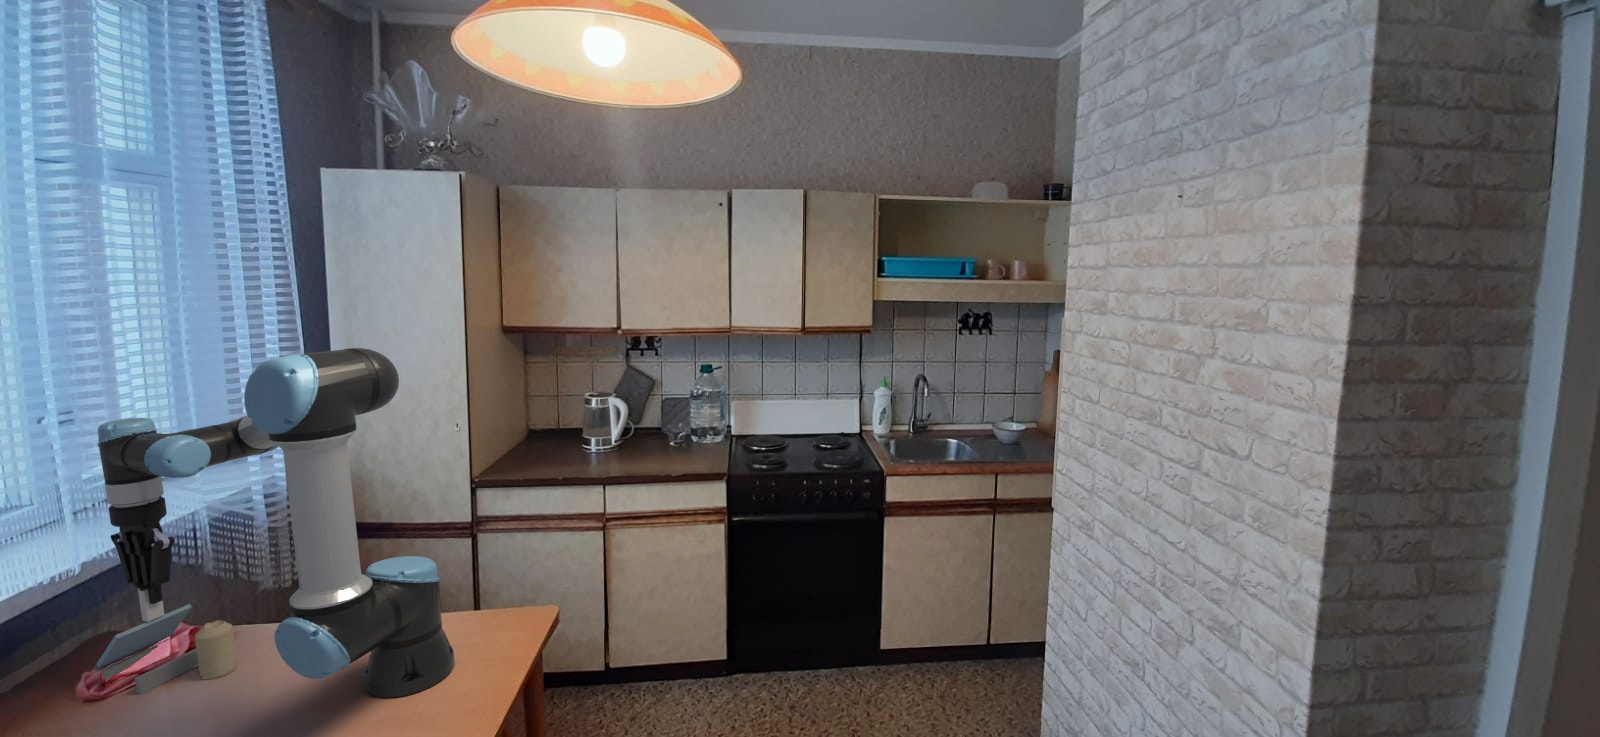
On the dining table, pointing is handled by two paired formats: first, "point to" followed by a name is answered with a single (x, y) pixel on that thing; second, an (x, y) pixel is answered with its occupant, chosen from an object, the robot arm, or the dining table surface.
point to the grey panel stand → (155, 675)
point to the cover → (141, 637)
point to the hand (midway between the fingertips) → (153, 617)
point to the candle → (216, 649)
